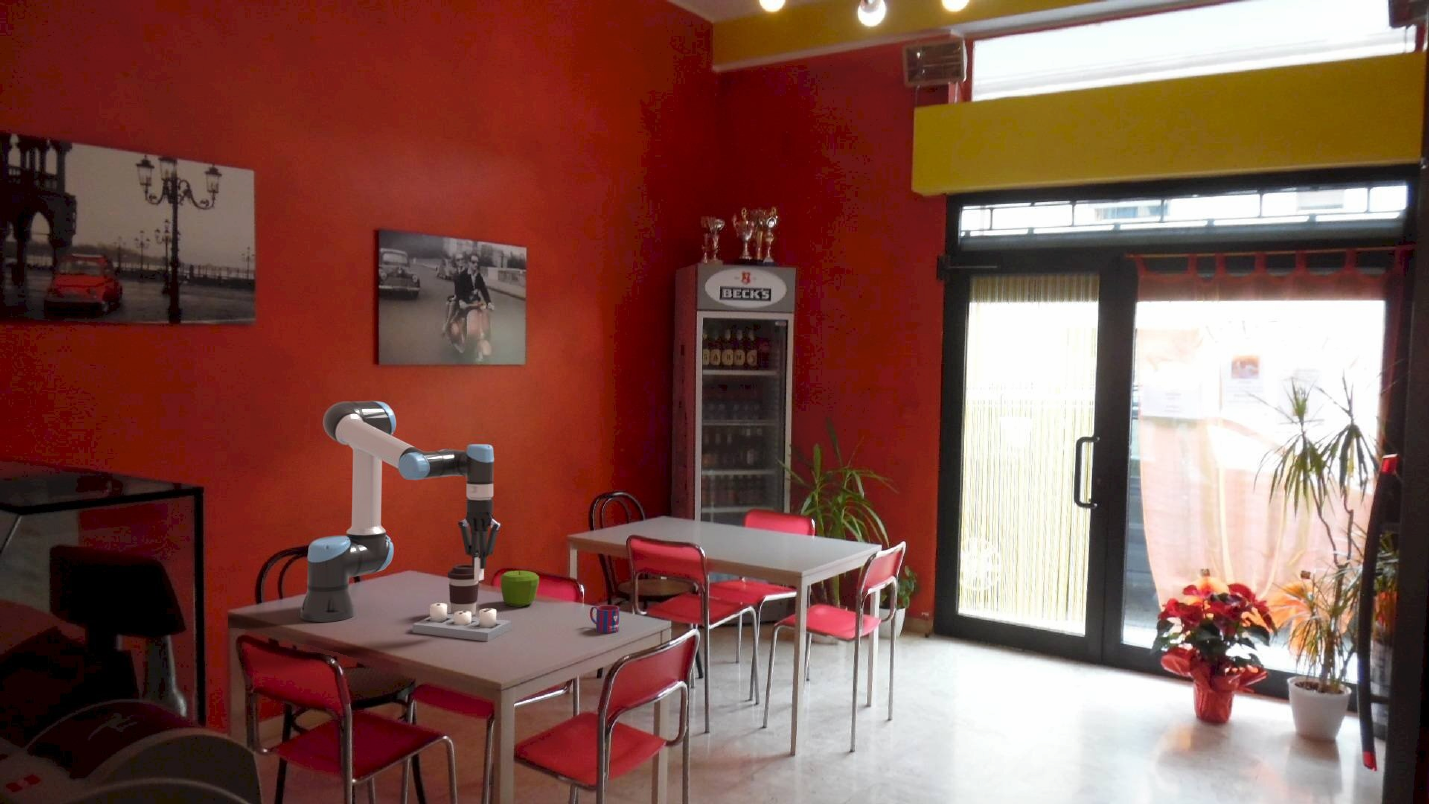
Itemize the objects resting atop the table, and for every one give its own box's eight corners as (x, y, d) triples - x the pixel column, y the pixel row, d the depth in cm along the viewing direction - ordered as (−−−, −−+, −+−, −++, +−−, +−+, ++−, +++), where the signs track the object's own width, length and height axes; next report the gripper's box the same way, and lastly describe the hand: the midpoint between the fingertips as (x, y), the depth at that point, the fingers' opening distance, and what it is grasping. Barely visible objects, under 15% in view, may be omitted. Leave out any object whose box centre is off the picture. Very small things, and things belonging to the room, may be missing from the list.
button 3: (475, 626, 280) (476, 610, 280) (484, 622, 285) (484, 606, 284) (490, 628, 279) (491, 612, 278) (498, 624, 283) (499, 608, 283)
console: (412, 632, 280) (412, 624, 280) (438, 620, 294) (439, 612, 294) (487, 641, 274) (487, 632, 274) (511, 629, 287) (511, 620, 287)
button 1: (426, 621, 284) (426, 605, 284) (435, 617, 289) (435, 601, 289) (441, 622, 283) (441, 606, 283) (449, 619, 288) (450, 603, 287)
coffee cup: (486, 614, 303) (487, 566, 303) (462, 620, 295) (463, 571, 294) (463, 609, 308) (465, 562, 308) (439, 615, 300) (440, 566, 300)
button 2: (450, 629, 282) (451, 613, 282) (459, 625, 287) (459, 609, 287) (465, 630, 281) (466, 614, 281) (474, 626, 285) (474, 610, 285)
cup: (606, 634, 285) (607, 611, 285) (583, 628, 291) (584, 605, 291) (623, 630, 290) (624, 607, 290) (600, 624, 296) (601, 601, 296)
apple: (544, 606, 315) (545, 571, 315) (508, 610, 308) (509, 575, 308) (528, 598, 326) (529, 564, 325) (493, 602, 319) (494, 567, 318)
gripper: (452, 498, 279) (452, 580, 280) (493, 500, 276) (492, 584, 276) (466, 495, 287) (465, 575, 287) (506, 497, 283) (505, 578, 283)
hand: (479, 579), depth 282 cm, fingers closed
